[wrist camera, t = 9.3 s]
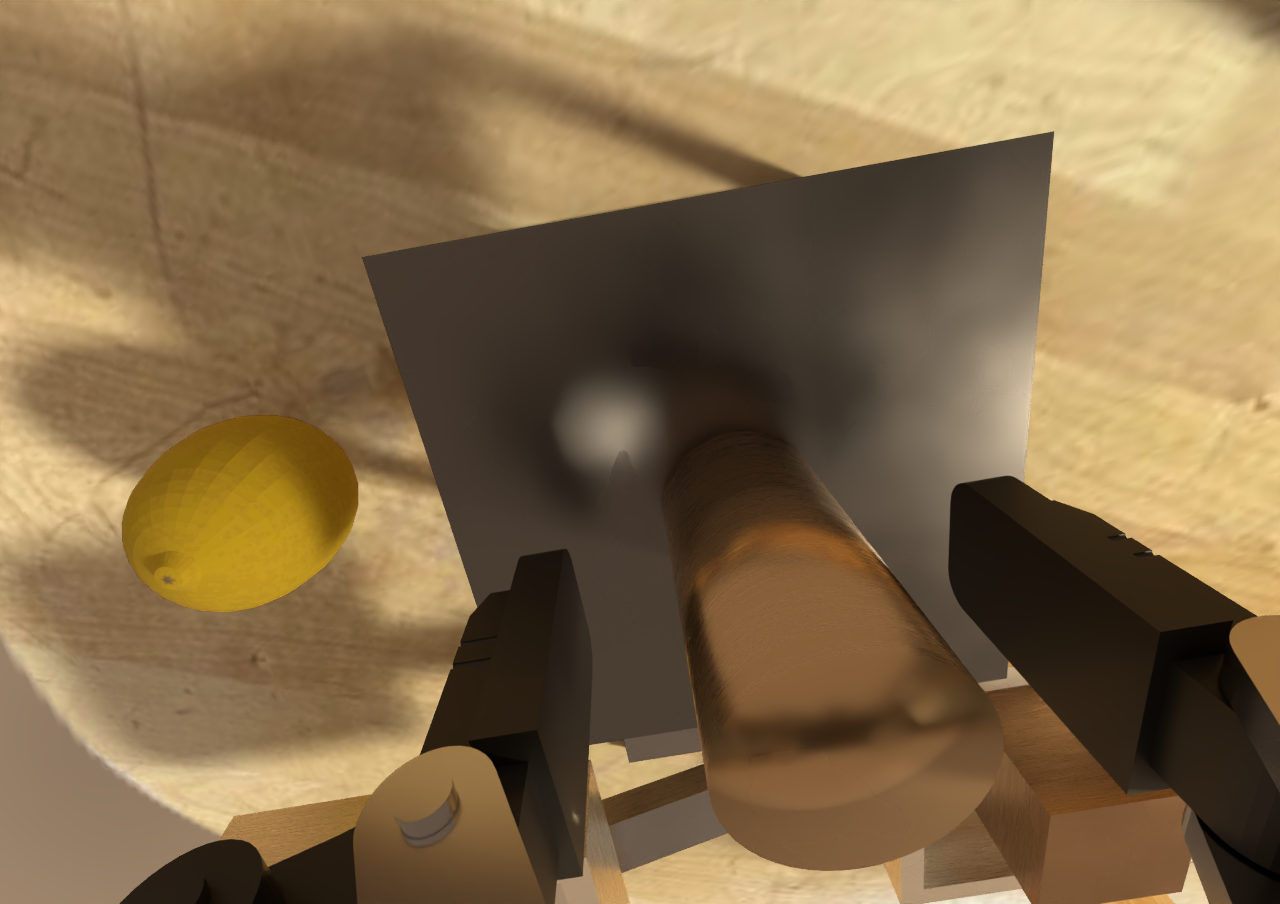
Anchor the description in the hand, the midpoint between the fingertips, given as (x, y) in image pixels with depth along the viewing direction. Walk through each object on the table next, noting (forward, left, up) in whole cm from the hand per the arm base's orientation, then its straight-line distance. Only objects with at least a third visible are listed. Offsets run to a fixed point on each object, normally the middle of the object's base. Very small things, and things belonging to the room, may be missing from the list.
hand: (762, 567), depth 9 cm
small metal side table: (0, 0, -13) cm, 13 cm away
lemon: (+1, -14, -13) cm, 19 cm away
